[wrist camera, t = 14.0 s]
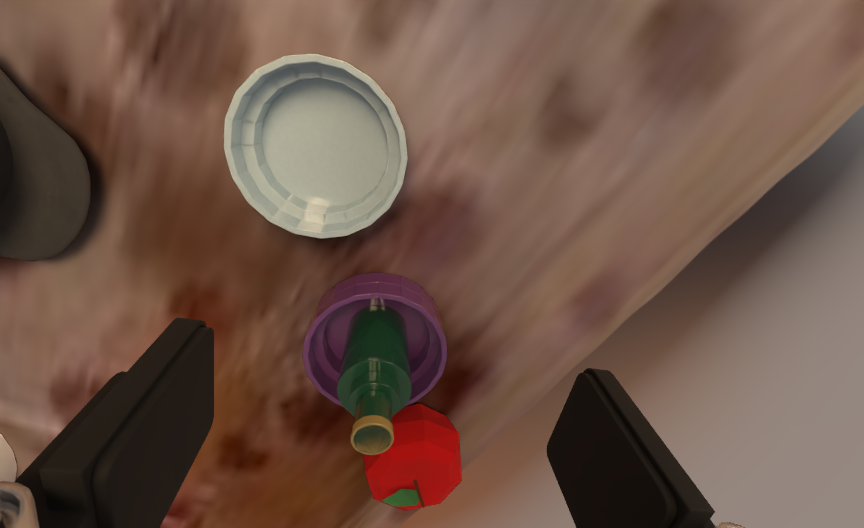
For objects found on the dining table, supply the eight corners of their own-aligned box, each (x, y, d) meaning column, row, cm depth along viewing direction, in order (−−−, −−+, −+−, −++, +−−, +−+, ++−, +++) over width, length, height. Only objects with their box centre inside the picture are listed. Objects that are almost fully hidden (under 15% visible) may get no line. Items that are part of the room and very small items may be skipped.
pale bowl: (362, 30, 31) (357, 20, 27) (427, 184, 36) (433, 197, 32) (213, 101, 32) (184, 103, 28) (298, 241, 37) (285, 262, 33)
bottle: (391, 295, 40) (393, 393, 27) (416, 342, 42) (428, 452, 29) (336, 319, 40) (312, 426, 27) (364, 363, 43) (353, 481, 30)
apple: (466, 395, 46) (485, 470, 37) (444, 463, 50) (457, 546, 41) (373, 384, 44) (369, 461, 35) (358, 456, 48) (351, 541, 39)
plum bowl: (409, 249, 39) (412, 270, 34) (458, 351, 44) (466, 381, 39) (287, 301, 40) (274, 329, 35) (349, 395, 45) (345, 430, 40)
